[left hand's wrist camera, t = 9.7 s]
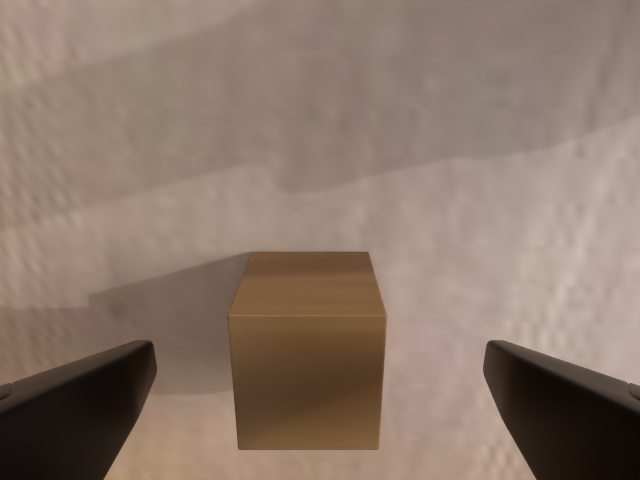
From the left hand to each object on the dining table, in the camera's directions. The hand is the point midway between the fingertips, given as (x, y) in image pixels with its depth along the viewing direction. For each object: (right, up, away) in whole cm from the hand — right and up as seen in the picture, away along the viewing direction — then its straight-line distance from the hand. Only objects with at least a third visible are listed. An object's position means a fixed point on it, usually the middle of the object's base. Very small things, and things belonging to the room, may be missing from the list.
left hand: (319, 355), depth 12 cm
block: (0, 0, +6) cm, 6 cm away
